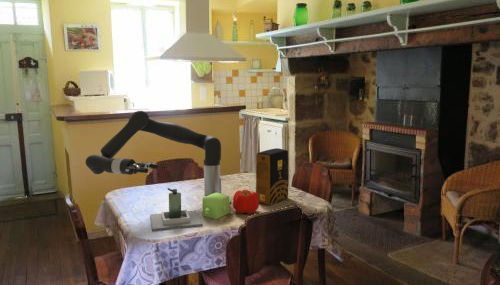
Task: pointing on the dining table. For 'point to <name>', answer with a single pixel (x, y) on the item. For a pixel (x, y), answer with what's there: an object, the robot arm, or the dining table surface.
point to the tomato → (245, 201)
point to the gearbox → (215, 205)
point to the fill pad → (175, 220)
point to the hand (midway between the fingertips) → (152, 168)
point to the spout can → (174, 204)
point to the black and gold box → (272, 176)
